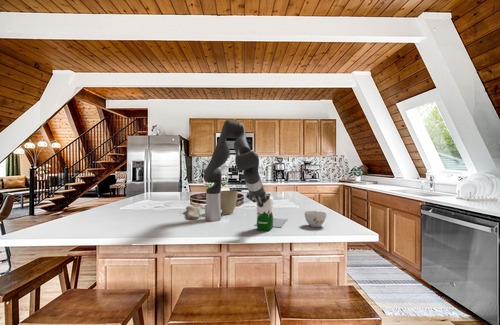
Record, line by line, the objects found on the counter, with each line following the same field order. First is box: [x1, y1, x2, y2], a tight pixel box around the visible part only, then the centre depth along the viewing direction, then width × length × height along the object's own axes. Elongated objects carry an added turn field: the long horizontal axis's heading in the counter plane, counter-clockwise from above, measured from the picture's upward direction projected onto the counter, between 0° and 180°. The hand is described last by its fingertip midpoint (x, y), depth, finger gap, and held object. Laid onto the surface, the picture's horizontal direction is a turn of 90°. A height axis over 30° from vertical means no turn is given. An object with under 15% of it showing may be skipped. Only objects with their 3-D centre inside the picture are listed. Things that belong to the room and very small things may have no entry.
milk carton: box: [256, 196, 274, 232], centre depth 147 cm, size 9×9×20 cm
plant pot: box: [221, 190, 239, 215], centre depth 192 cm, size 15×15×16 cm
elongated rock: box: [185, 205, 201, 221], centre depth 186 cm, size 35×5×10 cm
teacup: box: [303, 210, 327, 228], centre depth 155 cm, size 15×12×8 cm
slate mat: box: [254, 217, 288, 229], centre depth 163 cm, size 16×22×1 cm
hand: (261, 205), depth 139 cm, fingers closed
